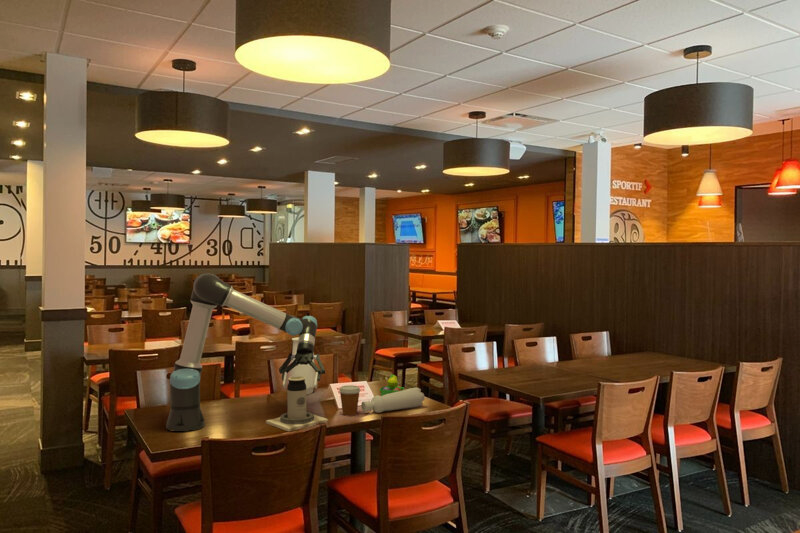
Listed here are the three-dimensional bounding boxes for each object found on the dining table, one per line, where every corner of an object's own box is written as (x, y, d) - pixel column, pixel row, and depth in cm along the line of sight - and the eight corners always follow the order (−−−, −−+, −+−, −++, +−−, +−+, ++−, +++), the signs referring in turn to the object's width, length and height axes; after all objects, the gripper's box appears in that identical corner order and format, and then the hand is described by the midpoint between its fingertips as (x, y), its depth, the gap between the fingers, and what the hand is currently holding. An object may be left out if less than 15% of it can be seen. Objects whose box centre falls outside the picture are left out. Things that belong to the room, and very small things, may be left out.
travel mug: (285, 418, 264) (285, 376, 263) (303, 416, 267) (303, 375, 267) (290, 423, 257) (289, 380, 256) (308, 421, 260) (308, 378, 259)
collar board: (288, 431, 249) (288, 424, 249) (266, 423, 261) (265, 416, 261) (328, 422, 263) (327, 415, 263) (304, 414, 275) (304, 407, 275)
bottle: (413, 396, 295) (357, 406, 280) (418, 382, 290) (361, 392, 275) (422, 410, 289) (365, 421, 274) (427, 396, 284) (370, 407, 269)
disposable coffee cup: (352, 417, 269) (351, 390, 269) (334, 414, 274) (334, 388, 274) (364, 413, 277) (364, 386, 277) (347, 410, 282) (347, 384, 282)
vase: (285, 393, 315) (285, 339, 314) (299, 388, 327) (298, 336, 326) (307, 396, 310) (307, 340, 309) (320, 390, 322) (320, 337, 321)
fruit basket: (379, 399, 302) (378, 377, 302) (383, 395, 311) (383, 373, 310) (401, 400, 300) (401, 377, 299) (405, 396, 308) (405, 374, 308)
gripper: (333, 351, 281) (329, 391, 267) (279, 351, 282) (272, 391, 267) (332, 341, 276) (327, 381, 261) (277, 341, 276) (269, 381, 262)
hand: (299, 386), depth 264 cm, fingers open, 13 cm apart
